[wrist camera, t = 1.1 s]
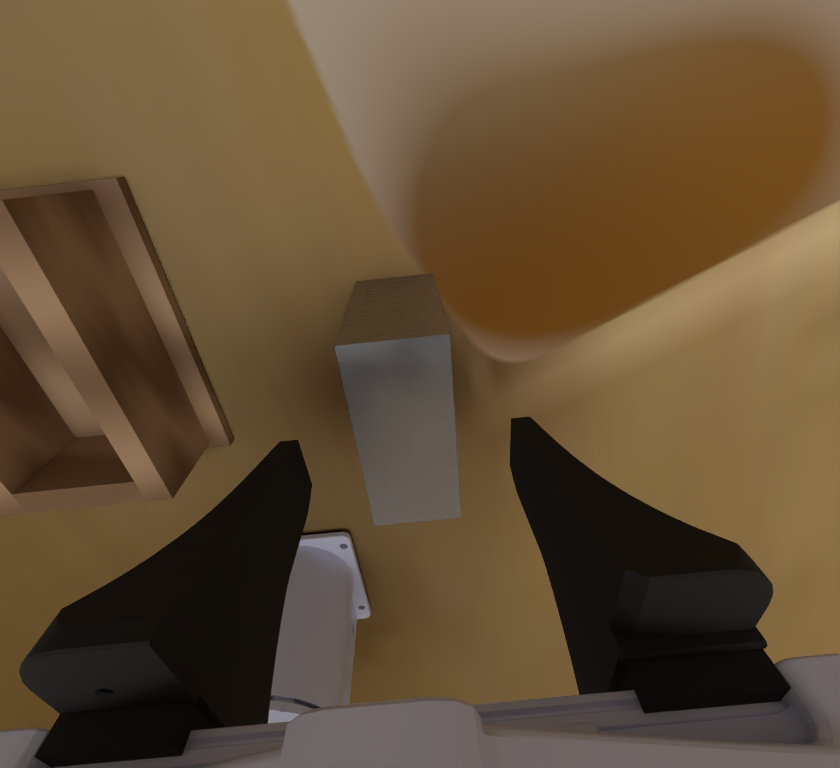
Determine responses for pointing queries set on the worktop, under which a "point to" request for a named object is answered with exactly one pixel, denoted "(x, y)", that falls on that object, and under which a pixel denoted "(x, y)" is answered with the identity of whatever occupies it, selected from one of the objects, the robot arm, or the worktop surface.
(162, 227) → the worktop surface
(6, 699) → the worktop surface
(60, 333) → the brown rectangular frame
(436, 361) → the silver metal block
